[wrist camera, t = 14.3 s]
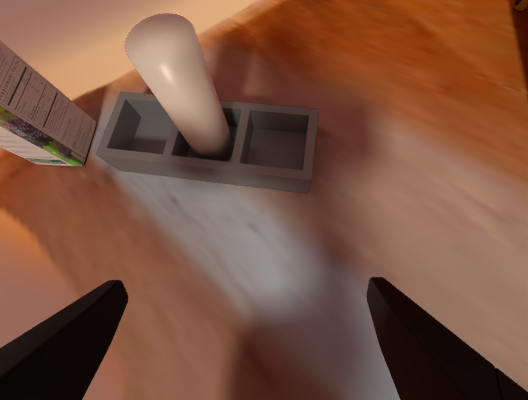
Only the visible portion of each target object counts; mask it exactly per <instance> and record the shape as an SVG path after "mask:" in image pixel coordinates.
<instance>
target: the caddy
mask: <svg viewBox="0 0 528 400" xmlns="http://www.w3.org/2000/svg"><path fill="white" fill-rule="evenodd" d="M219 101H220V104H221V107H222V110H223V113H224V116H225V118H226V121H227V124H228V127H229V130H230V133H231V136H232V139H233V141H234V149H233V153H232V156H231V158H230V159H229V160H228V161H226V162H225V161H216V160H207V159H199V158H198V157H197V155H196V154H195V152H194V151H193V149H192V148H191V147H190V145H189V144H188V142H187V141H186V139H185V138H184V137H183V135H182V134H181V132H180V131H179V129H178V128H177V127H176V125H175V124H174V122H173V121H172V119H171V118H170V117H169V115H168V114H167V112H166V111H165V109H164V108H163V107H162V105H161V104H160V102H159V101H158V99H157V98H156V97H155V95H154V94H142V93H131V92H120V94H119V97H118V99H117V102H116V104H115V107H114V110H113V112H112V115H111V117H110V120H109V122H108V125H107V127H106V130H105V133H104V135H103V138H102V140H101V143H100V145H99V148H98V150H97V153H96V155H97V156H98V157H100V158H101V159H103V160H104V161H106V162H108V163H109V164H111V165H112V166H114V167H115V168H117V169H118V170H120V171H128V172H136V173H144V174H152V175H160V176H168V177H176V178H184V179H192V180H201V181H209V182H217V183H225V184H233V185H241V186H249V187H257V188H265V189H273V190H282V191H290V192H298V193H306V194H307V192H308V189H309V186H310V183H311V180H312V171H313V161H314V151H315V142H316V132H317V122H318V113H319V109H316V108H304V107H293V106H281V105H270V104H258V103H247V102H235V101H223V100H219Z"/></svg>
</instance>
